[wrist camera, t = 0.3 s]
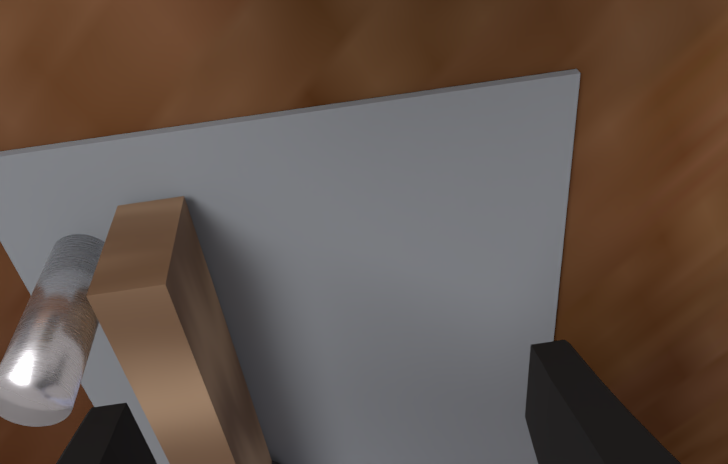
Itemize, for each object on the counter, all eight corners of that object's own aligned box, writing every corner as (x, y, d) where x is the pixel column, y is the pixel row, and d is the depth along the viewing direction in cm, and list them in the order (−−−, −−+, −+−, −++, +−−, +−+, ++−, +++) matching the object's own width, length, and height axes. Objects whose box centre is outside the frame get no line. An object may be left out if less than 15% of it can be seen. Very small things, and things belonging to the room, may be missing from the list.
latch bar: (296, 494, 30) (299, 638, 25) (226, 505, 30) (216, 651, 25) (203, 193, 20) (179, 338, 15) (97, 208, 20) (39, 359, 15)
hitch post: (127, 271, 22) (84, 419, 17) (67, 280, 22) (8, 431, 17) (106, 224, 21) (54, 369, 16) (43, 233, 21) (-28, 381, 16)
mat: (538, 462, 31) (540, 468, 31) (162, 520, 31) (162, 526, 31) (576, 68, 19) (580, 73, 19) (-40, 157, 19) (-44, 162, 19)
